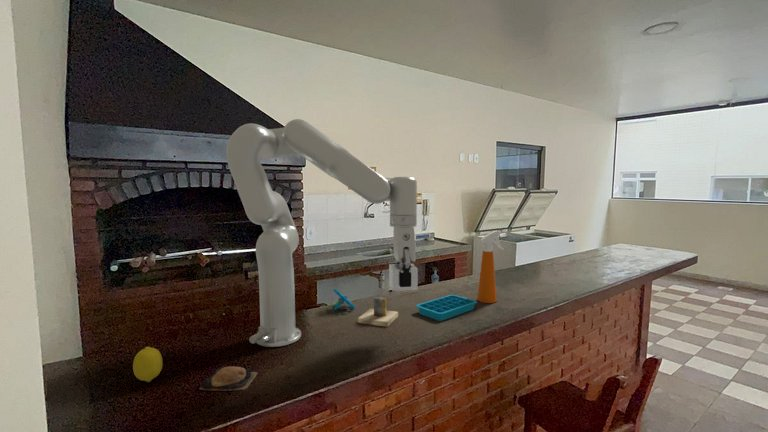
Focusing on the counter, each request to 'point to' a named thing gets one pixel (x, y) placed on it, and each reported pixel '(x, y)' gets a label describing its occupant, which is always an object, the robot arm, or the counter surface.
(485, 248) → the spray bottle
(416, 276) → the grey hollow block
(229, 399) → the counter surface
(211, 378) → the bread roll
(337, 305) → the gear
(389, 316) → the keyed post stand
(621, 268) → the counter surface
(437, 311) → the ice cube tray
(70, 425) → the counter surface
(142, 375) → the lemon
